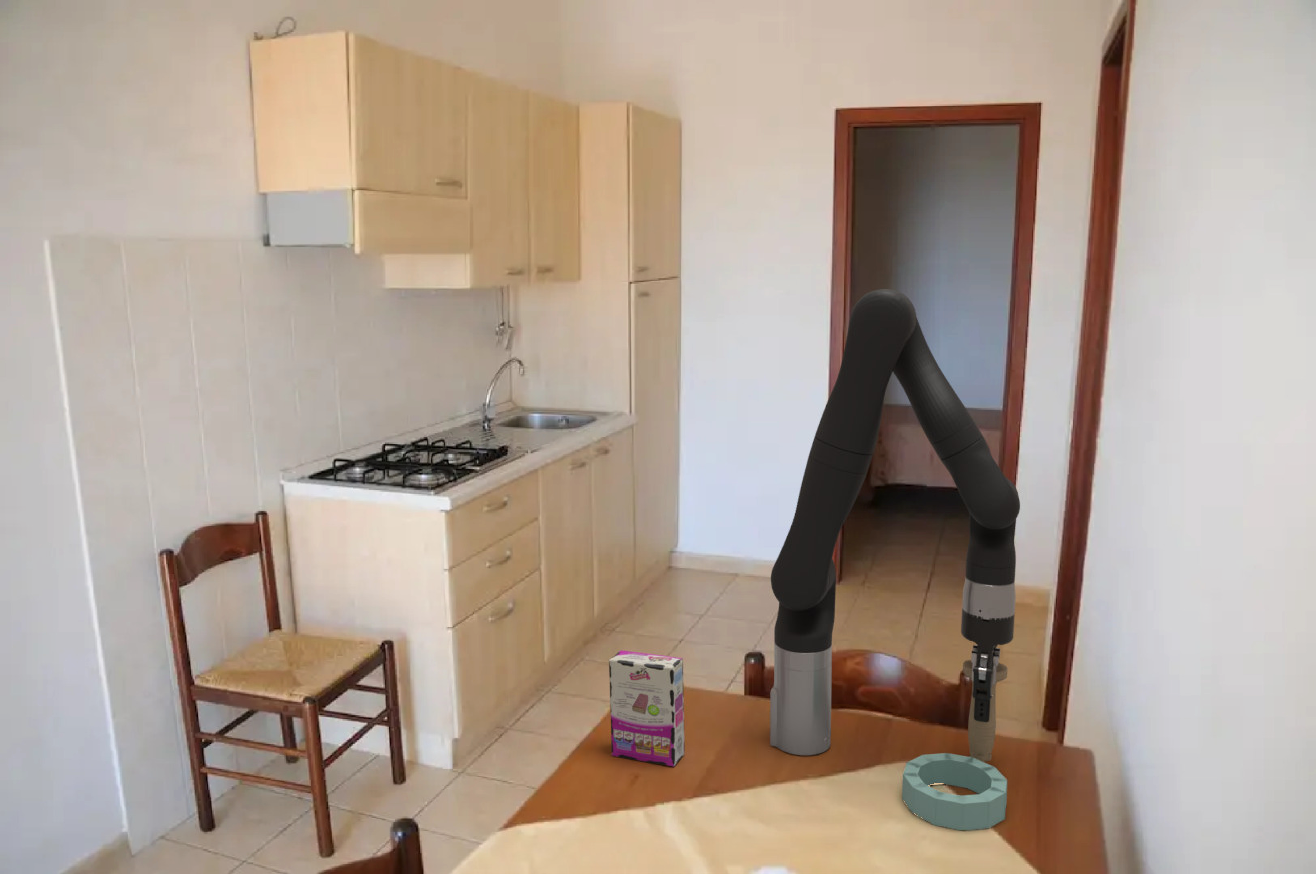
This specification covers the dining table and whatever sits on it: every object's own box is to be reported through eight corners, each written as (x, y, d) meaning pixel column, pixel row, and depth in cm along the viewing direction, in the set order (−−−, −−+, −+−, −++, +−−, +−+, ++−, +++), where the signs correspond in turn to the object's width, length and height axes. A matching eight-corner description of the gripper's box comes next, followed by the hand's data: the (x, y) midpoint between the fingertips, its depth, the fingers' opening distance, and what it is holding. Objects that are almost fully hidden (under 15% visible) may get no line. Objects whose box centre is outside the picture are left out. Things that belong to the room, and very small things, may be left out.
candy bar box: (685, 754, 153) (684, 657, 150) (674, 768, 148) (673, 668, 146) (622, 742, 157) (620, 648, 154) (609, 756, 152) (607, 659, 150)
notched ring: (896, 818, 133) (896, 791, 133) (910, 771, 146) (911, 747, 145) (1002, 839, 128) (1003, 811, 127) (1008, 788, 141) (1009, 763, 140)
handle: (1003, 768, 143) (1008, 674, 141) (958, 763, 145) (963, 670, 143) (1001, 753, 148) (1006, 662, 146) (958, 748, 150) (962, 658, 147)
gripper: (966, 591, 151) (961, 693, 153) (957, 619, 138) (952, 730, 140) (1016, 596, 148) (1010, 701, 150) (1012, 626, 135) (1005, 739, 138)
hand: (982, 714), depth 145 cm, fingers closed on handle, 3 cm apart
